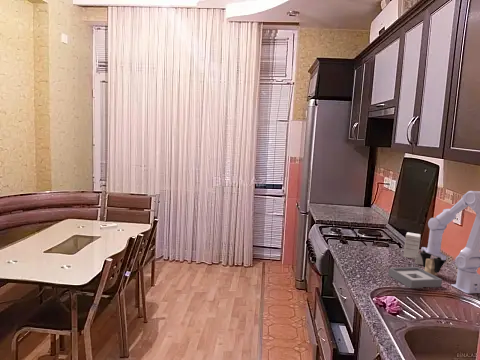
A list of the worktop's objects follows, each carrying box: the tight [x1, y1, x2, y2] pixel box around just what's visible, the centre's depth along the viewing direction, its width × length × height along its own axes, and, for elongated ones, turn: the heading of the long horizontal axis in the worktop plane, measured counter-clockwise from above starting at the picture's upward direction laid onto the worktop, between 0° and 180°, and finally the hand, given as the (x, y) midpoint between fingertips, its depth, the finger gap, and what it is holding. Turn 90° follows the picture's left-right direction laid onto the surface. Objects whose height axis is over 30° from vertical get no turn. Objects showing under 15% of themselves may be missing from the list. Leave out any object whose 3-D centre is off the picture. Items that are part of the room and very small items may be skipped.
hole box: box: [387, 266, 443, 289], centre depth 192 cm, size 16×16×4 cm
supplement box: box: [402, 231, 422, 260], centre depth 231 cm, size 7×7×13 cm
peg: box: [423, 258, 438, 276], centre depth 204 cm, size 4×4×7 cm
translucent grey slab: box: [414, 253, 423, 266], centre depth 218 cm, size 7×2×8 cm, turn 68°
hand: (431, 269), depth 204 cm, fingers open, 7 cm apart
